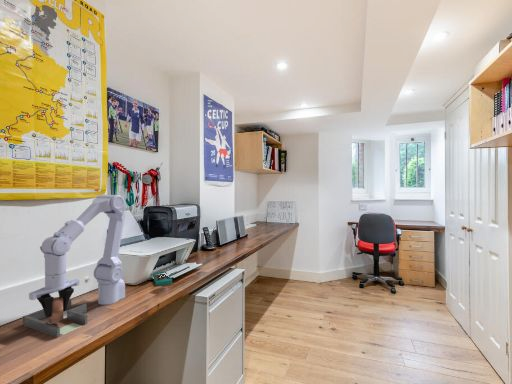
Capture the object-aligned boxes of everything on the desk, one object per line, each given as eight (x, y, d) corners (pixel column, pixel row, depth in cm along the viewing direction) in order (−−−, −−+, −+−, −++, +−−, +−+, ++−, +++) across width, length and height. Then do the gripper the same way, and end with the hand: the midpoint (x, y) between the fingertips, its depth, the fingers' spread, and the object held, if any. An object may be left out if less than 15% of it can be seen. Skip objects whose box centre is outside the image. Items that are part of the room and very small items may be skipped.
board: (71, 309, 106) (71, 306, 106) (110, 320, 97) (110, 317, 97) (22, 328, 91) (22, 325, 91) (62, 343, 83) (62, 340, 83)
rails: (70, 307, 105) (70, 299, 105) (102, 316, 98) (102, 308, 98) (23, 325, 91) (22, 316, 91) (57, 338, 84) (57, 328, 84)
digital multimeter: (156, 287, 131) (156, 281, 130) (151, 278, 143) (151, 272, 143) (172, 284, 134) (172, 278, 134) (166, 276, 147) (166, 270, 147)
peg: (58, 316, 95) (58, 296, 94) (65, 318, 93) (65, 298, 93) (45, 321, 91) (45, 300, 91) (53, 324, 89) (53, 302, 89)
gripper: (70, 265, 100) (70, 302, 100) (23, 277, 87) (23, 320, 87) (83, 268, 97) (83, 306, 97) (36, 280, 84) (36, 325, 84)
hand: (56, 313), depth 92 cm, fingers closed on peg, 4 cm apart
